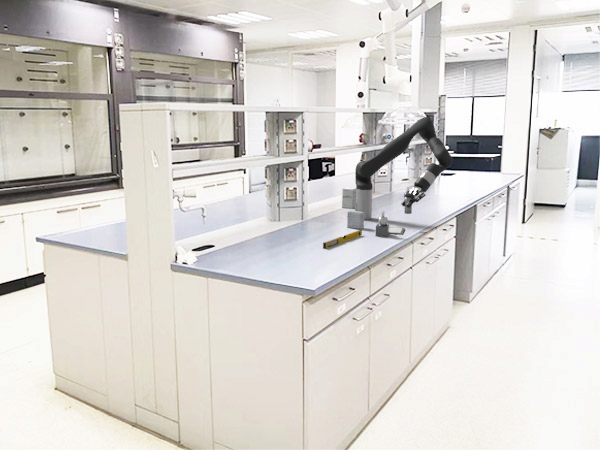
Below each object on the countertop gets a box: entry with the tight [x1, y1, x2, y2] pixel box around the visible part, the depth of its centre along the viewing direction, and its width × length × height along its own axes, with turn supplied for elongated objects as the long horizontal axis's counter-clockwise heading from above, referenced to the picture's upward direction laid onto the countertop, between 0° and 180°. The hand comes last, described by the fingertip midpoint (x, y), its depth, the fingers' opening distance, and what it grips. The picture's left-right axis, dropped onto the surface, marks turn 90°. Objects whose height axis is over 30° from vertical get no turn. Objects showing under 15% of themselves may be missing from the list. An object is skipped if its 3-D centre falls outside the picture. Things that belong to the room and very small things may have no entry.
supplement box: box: [341, 187, 356, 209], centre depth 343 cm, size 7×7×13 cm
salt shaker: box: [403, 192, 413, 215], centre depth 274 cm, size 4×4×10 cm
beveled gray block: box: [374, 211, 390, 238], centre depth 263 cm, size 6×6×12 cm
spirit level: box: [322, 229, 363, 250], centre depth 250 cm, size 34×1×3 cm, turn 145°
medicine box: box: [346, 210, 365, 230], centre depth 281 cm, size 8×4×9 cm, turn 59°
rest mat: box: [389, 226, 406, 235], centre depth 274 cm, size 11×14×1 cm
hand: (405, 205), depth 274 cm, fingers closed on salt shaker, 3 cm apart
